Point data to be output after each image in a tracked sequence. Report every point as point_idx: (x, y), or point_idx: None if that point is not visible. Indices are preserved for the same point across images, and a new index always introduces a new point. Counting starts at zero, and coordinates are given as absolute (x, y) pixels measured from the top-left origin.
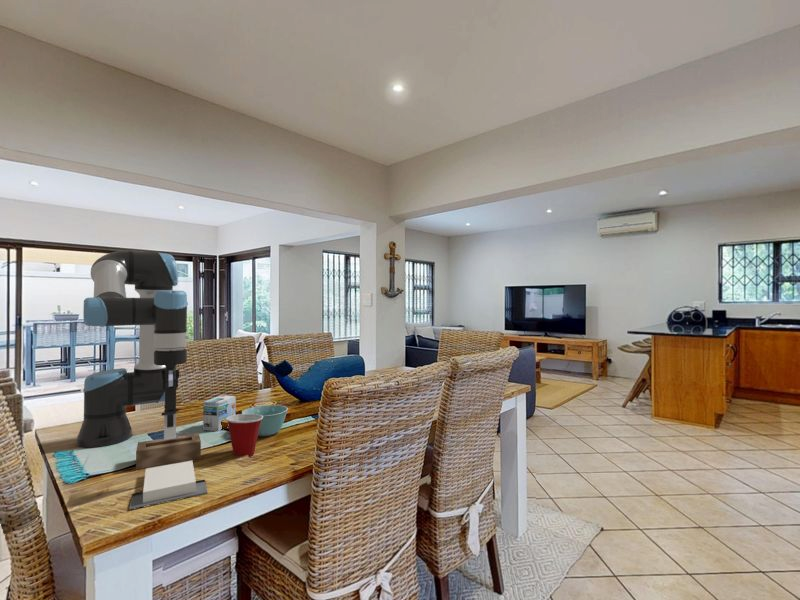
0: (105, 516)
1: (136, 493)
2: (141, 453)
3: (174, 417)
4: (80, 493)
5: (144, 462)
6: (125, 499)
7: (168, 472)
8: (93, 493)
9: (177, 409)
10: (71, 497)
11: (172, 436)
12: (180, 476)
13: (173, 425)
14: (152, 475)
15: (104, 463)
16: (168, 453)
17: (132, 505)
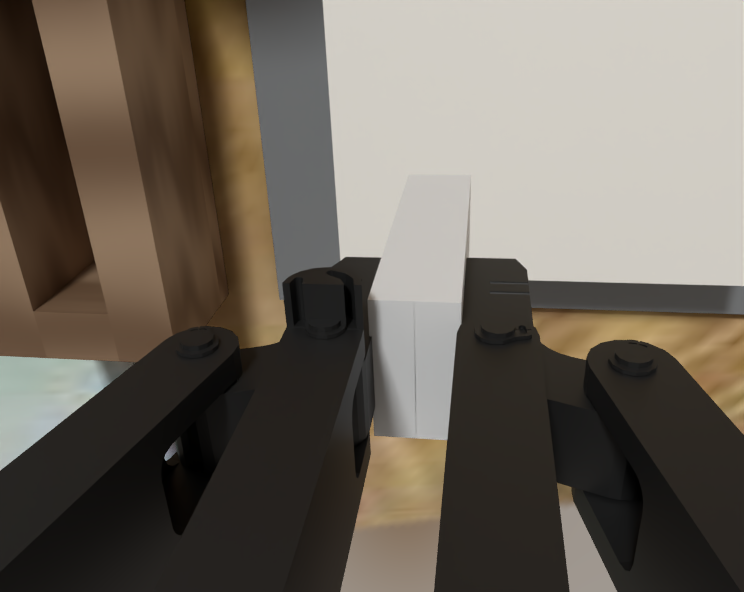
0: (735, 396)
1: (561, 289)
2: (181, 325)
3: (463, 296)
4: (384, 486)
5: (201, 279)
6: (582, 329)
7: (490, 146)
8: (414, 446)
9: (341, 298)
10: (412, 510)
11: (469, 215)
12: (624, 67)
13: (466, 257)
14: (487, 239)
15: (32, 423)
16: (164, 153)
17: (717, 303)
